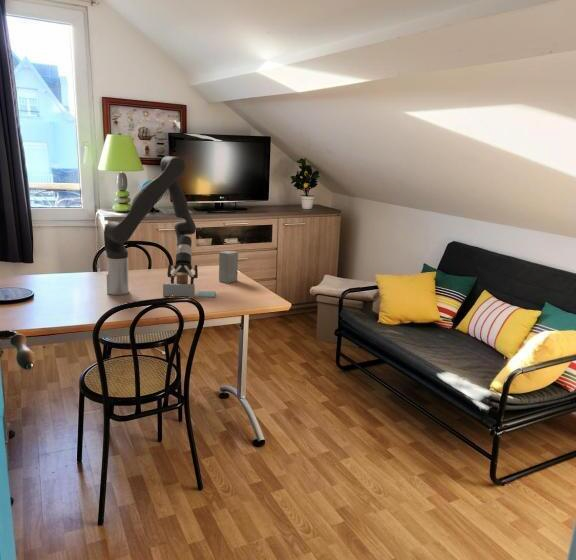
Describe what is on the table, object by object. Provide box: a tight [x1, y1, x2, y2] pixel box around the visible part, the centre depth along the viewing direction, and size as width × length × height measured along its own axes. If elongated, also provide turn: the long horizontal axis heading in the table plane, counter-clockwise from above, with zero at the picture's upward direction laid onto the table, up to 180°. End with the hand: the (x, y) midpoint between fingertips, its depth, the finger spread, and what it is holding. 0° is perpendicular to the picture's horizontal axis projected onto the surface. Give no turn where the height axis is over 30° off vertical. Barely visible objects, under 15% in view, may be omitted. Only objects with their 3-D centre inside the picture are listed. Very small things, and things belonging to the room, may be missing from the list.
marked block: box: [176, 272, 189, 284], centre depth 249 cm, size 5×5×10 cm
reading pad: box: [197, 290, 216, 298], centre depth 251 cm, size 8×8×1 cm
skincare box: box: [218, 250, 239, 284], centre depth 274 cm, size 8×7×16 cm
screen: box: [162, 283, 196, 298], centre depth 245 cm, size 14×1×6 cm, turn 98°
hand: (182, 284), depth 248 cm, fingers open, 8 cm apart
